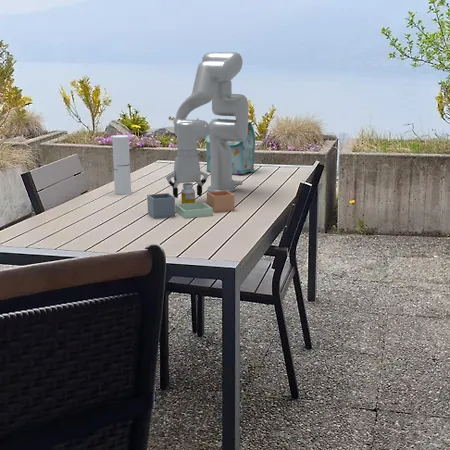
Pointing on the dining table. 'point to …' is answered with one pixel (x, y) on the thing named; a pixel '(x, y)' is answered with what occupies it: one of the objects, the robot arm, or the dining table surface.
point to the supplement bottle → (188, 193)
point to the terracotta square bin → (221, 201)
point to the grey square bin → (161, 205)
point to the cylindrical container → (121, 164)
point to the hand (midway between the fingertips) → (187, 196)
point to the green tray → (194, 210)
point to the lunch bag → (238, 153)
